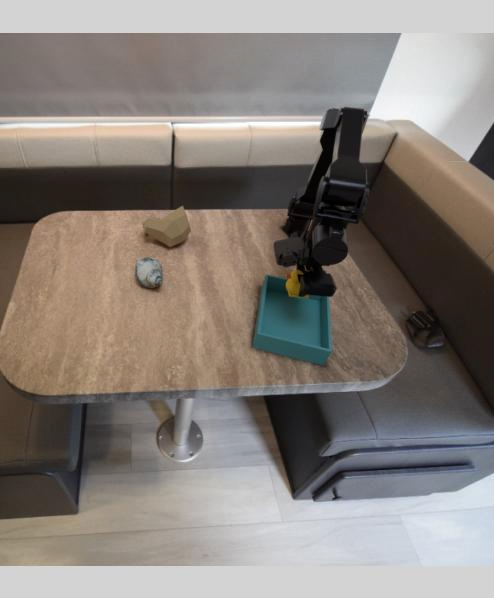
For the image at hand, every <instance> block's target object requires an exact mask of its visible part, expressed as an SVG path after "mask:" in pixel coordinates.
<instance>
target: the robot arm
mask: <svg viewBox="0 0 494 598" xmlns="http://www.w3.org/2000/svg"><path fill="white" fill-rule="evenodd" d="M368 118H369V114H368V110H365V108H362V107H353V106H343V107H339V108H338V107H331V108H329V109H327V110H326V111H325V112H324V113H323V115H322V118H321V120H320V124H319V131H320V136H319V144H320V149H319V152H318V154H317V156H316V159H315V162H314V163H313V166H312V168H311V171H310V174H309V176H308V178H307V181H306V183H305V185H303V186H301V187H299V188H298V189H297V191H296V193H295V196H292V198H291V199H290V201H289V202H288V207H287V215H286V216H287V218H286V219H285V223H284V225H282V226H281V228H282V230H283V231H284V232H285V234H286V235H287V236H288V237H289V238H283V239H278V240H275V241H274V242H273V243H272V244H273V251H274V258H275V262H276V265H277V266H281V267H283V268H289V267H295V270H300V271H301V272H302V273H303V274H297V277H298V281H299V283H300V289H299V294H298V296H299V297H304V296H306V295H315V296H327V297H329V298H332V297H333V296H334V295H335V293H336V292H337V289H338V287H337V285H336V282H335V278H334V277H333V275H332V274H331V273H328V272H327V270H324V268H323V267H330V266H334V265H338V264H340V263H341V262H343V261H344V260H345V259H346V258H347V256H348V254H349V245H348V234H347V227H348V225H349V224H354V225H358V224H359V222H360V219H361V217H363V216H364V215H365V212H366V208H367V204H368V199H369V195H370V189H369V188H370V184H369V182H368V171H367V168H366V167H365V166H364V165H363V163H361V149H362V139H363V134H364V131H365V128H366V125H367V122H368ZM354 207H355V208H354ZM346 208H349V209H353V208H354V211H352V210H348V209H347V210H346Z"/></svg>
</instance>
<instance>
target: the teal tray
mask: <svg viewBox="0 0 494 598" xmlns="http://www.w3.org/2000/svg"><path fill="white" fill-rule="evenodd" d="M288 280H289V279H288V278H286V277H281V276H276V275H272V274H265V276H264V279H263V282H262V285H261V288H260V295H259V302H258V308H257V314H256V321H255V328H254V335H253V341H252V347H251V348H253V349H256V350H259V351H264V352H268V353H272V354H275V355H280V356H284V357H288V358H292V359H295V360H300V361H304V362H308V363H312V364H316V365H320V366H324V365H325V364H326V363H327V361H328V359H329V358H330V356H331V354H332V352H333V344H332V343H333V342H332V324H331V322H332V321H331V320H332V319H331V301H330V299H331V297H327V296H315V295H309V298H298V297H289V294H288V291H287V289H286V282H287V281H288Z"/></svg>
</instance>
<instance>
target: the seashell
mask: <svg viewBox="0 0 494 598" xmlns="http://www.w3.org/2000/svg"><path fill="white" fill-rule="evenodd" d="M135 278H136V280H137V282H138V283H139V284H140V285H141V286H142V287H143V288H147V289H154V288H156V287H158V286H161V285H162V284H163V266H162V265H161V263H160V262H159V260H158V259H156V258H155V257H152V256H145V257H143V258H137V259H136V261H135Z"/></svg>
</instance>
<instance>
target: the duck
mask: <svg viewBox="0 0 494 598" xmlns="http://www.w3.org/2000/svg"><path fill="white" fill-rule="evenodd" d="M297 274H303V273H302V272H301V271H300V270H296V269H295V270H293V271H292V272H291V273H285V278H286V279H289V280H288V281H287V282H286V289H287V291H288V294H289V297H298V298H309V295H306V296H304V297H299V296H298V294H299V289H300V283H299V281H298V277H297Z"/></svg>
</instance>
